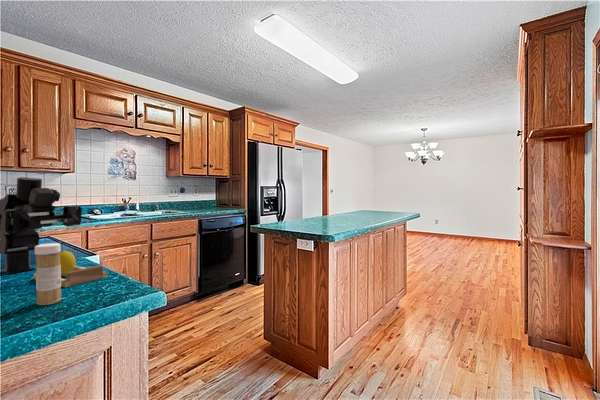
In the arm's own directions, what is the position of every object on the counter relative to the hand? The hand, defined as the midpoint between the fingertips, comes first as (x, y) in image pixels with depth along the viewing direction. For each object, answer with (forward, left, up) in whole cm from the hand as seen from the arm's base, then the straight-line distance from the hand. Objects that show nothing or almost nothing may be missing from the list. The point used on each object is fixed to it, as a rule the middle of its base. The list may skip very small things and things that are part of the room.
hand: (60, 224), depth 86 cm
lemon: (-4, +3, -16) cm, 17 cm away
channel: (-1, +3, -16) cm, 16 cm away
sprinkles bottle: (+17, -10, -16) cm, 26 cm away
